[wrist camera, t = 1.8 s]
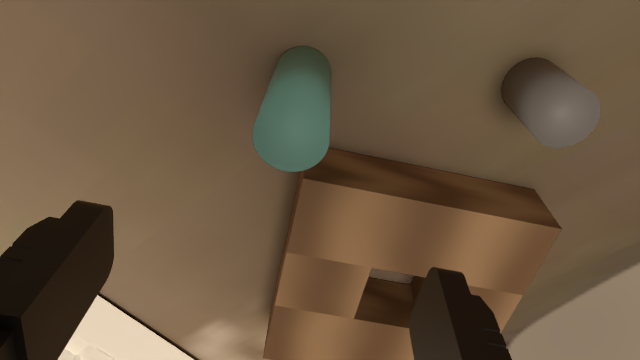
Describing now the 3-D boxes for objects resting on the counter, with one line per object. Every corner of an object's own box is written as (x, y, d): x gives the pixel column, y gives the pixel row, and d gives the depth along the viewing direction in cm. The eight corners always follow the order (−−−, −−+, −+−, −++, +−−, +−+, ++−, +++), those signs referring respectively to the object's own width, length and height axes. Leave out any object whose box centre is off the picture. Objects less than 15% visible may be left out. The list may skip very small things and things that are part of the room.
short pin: (492, 105, 26) (520, 141, 22) (515, 52, 24) (549, 79, 20) (543, 116, 26) (580, 153, 22) (569, 64, 24) (613, 94, 20)
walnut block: (270, 312, 34) (263, 358, 31) (307, 143, 27) (303, 178, 24) (453, 343, 35) (466, 391, 32) (534, 189, 28) (561, 228, 25)
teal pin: (271, 94, 26) (247, 163, 19) (280, 40, 24) (258, 94, 17) (324, 105, 26) (320, 178, 19) (336, 52, 24) (337, 110, 17)
